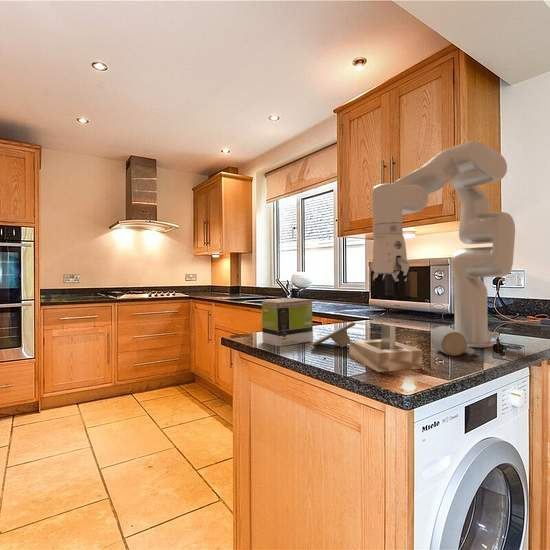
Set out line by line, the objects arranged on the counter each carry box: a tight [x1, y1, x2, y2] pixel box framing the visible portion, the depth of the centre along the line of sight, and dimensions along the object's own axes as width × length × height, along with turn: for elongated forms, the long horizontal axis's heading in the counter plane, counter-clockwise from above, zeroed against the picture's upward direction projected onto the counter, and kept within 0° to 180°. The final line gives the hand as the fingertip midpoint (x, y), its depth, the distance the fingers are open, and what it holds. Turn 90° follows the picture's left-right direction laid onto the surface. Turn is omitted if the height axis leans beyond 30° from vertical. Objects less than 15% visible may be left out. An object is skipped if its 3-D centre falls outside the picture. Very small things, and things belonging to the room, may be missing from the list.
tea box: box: [261, 298, 314, 347], centre depth 125 cm, size 15×10×15 cm, turn 124°
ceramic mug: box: [430, 325, 475, 357], centre depth 106 cm, size 11×8×8 cm
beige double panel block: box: [311, 321, 356, 348], centre depth 116 cm, size 16×9×15 cm
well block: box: [348, 338, 423, 373], centre depth 96 cm, size 12×16×4 cm
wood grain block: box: [380, 322, 396, 350], centre depth 96 cm, size 4×4×10 cm
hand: (389, 295), depth 97 cm, fingers open, 9 cm apart
